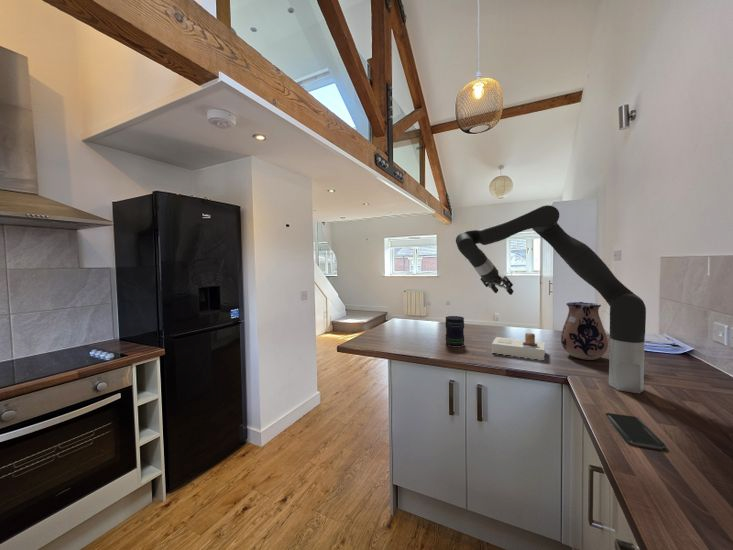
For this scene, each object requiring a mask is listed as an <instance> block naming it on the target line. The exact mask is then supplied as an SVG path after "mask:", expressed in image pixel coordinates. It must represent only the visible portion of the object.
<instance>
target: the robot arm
mask: <svg viewBox="0 0 733 550" xmlns="http://www.w3.org/2000/svg"><path fill="white" fill-rule="evenodd" d="M559 219H560V211H559V209H558V208H557V207H555V206H553V205H550V204H547V205H541V206H539V207H537V208H535V209H533V210H531V211H529V212H526V213H524V214H522V215H520V216H517V217H514V218H512V219H509V220H507V221H504V222H500V223H497V224H494V225H491V226H488V227H485V228H481V229H473V230H465V231H462V232H460V233H459V234H458V235H457V236H456V238H455V244H456V247H457V249H458V251H459V253H460V254H462V256H464V257H465V258H466V259H467V260H468V262H469V263H470V264H471V265H472V267H473V268H474V270H475V271H476V272H477V274H478V275H479V277H480V281H481V282H482V283H483V285H484V286H485V287H486V288H489V289H491V290H492V292H493V293H494V294H497V293H498V292H499V288H498V287H500V288H503V289H504V290H505V291H506V292H507V293H508V294H509V295H510V296H511V295H513V294H514V289H513V286H514V284H513V282H512V281H511V280H510V279H509V278H508V277H507V276H506V275H504V276H503V277H502V276H501V275H500V274H499V270H498V269H497V267H496V266H495V265H494V264H493V262H492V260H490V259H489V258H488V257H487V256H486V254H485V253H484V251H483V250H481V249H480V247H479V246H478V245H477V244H480V245H482V246H487V245H491V244H495V243H498V242H501V241H504V240H506V239H509V237H512V236H514V235H517V234H518V233H521V232H524V231H526V230H533V231H534V233H536V234H537V235H538V236H540V237H541V238H542V239H543V240H544V241H546V242H547V243H548V244H549V245H550V246H551V248H552V249H554V250H555V253H557V254H558V256H560V257H561V259H562V260H563V261H564V262H565V263H566V264H567V265H568V267H569V268H570V269H571V270H572V271H573V272H574V273H575V274H576V275H577V276H579V277H580V278H581V279H582V280H583V281H585V282H586V283H587V284H588V285H590V286H591V287H592V288H594V289H595V290H596V291H597V293H599V295H600V296H601V297H602V298H603V299H604V300H605V302H606V304H608V306H609V347H608V348H609V349H608V350H609V354H608V355H609V356H608V357H609V358H608V359H609V360H608V362H609V363H608V385H609V387H612V388H614V389H616V391H622V392H626V393H627V392H628V393H634V394H639V395H641V393H643V392H644V384H645V383H644V381H645V380H644V377H645V375H644V373H645V346H646V345H645V341H646V340H645V339H646V337H645V336H646V323H647V321H646V320H647V308H646V304H645V302H644V300H643V299H642V298H641V297H640V296H638V295H637V294H636V293H635V292H633V291H632V290H630V289H629V288H628V287H627V286H626V285H625V284H623V283H622V282H621V281H620V280H619V279H618V278H617V277H616V276H615V275H614V273H613V272H612V271H611V269H610V268H609V267H608V266H607V264H606V263H605V262H604V261H603V260H602V258H600V256H599V255H598V254H597V253H596V252H595V251H594V250H593V249H592V248H591V247H589V246H588V245H587V244H585V243H584V242H582V241H580V240H579V239H576V238H575V237H573V236H571V235H569V234H568V233H567V232H566V231H565V230H564V229H563V228H562V227H561V226H560V224H559V223H558V222H559ZM497 286H498V287H497Z"/></svg>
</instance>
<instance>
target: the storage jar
mask: <svg viewBox="0 0 733 550" xmlns="http://www.w3.org/2000/svg"><path fill="white" fill-rule="evenodd" d="M464 328H465V317H463V316H459V315H449V316H448V315H447V316H445V345H446V344H447V345H450V346H462V345H464V346H465V335H464ZM447 345H446V346H447ZM450 346H449V347H450Z"/></svg>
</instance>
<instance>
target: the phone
mask: <svg viewBox="0 0 733 550" xmlns="http://www.w3.org/2000/svg"><path fill="white" fill-rule="evenodd" d="M605 418H606V419H607V420H608V422H609V423H610V424H611V425H612V427H613V428H614V429H615V431H616V432H617V433H618V434H619V436H620V437H621V438H622V439H623V441H624V442H625V443H626V444H628V445H630V446H632V447H633V446H634V447H639V448H645V449H650V450H656V451H657V450H658V451H667V445H666V444H665V443H664V442H663V441H662V440H661V439H660V438H659V437H658V435H656V434H655V433H654V432H653V431H652V430H651V429H650V428H649V427H648V426H647V425H646V424H645V423H644V422H643V421H642V420H641V419H640V418H639V417H637V416H634V415H625V414H618V413H610V412H606V413H605Z"/></svg>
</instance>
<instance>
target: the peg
mask: <svg viewBox="0 0 733 550" xmlns="http://www.w3.org/2000/svg"><path fill="white" fill-rule="evenodd" d="M524 334H525V335H524V337H525V338H524V340H525V345H527V346H535V341H536V336H535V333H531V332H526V333H524Z"/></svg>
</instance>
